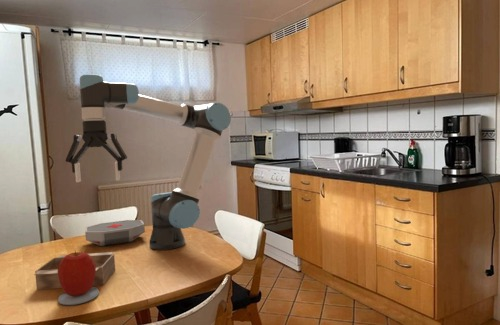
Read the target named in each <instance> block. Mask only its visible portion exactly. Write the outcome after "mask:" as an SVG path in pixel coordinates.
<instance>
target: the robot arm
mask: <svg viewBox="0 0 500 325" xmlns="http://www.w3.org/2000/svg"><path fill="white" fill-rule="evenodd" d="M78 90H79V95H80V104H81V106H80V108H81V119H82V135H80V134H74V135H73V142H72V143H71V145H70V148H69V151H68V154H67V155H66V158H65V162H66V163H70V164H71V170H72V173H73V174H74V175H75V183H81V182H82V177H81V176H82V175H81V174H82V173H81V163H80V162H79V161H80V159H81V158H82V157H83V155H84V154H85V153H86V151H87V150H88V149H89V148H102V147H103V148H104V149H105V150H106V151H107V152H108V153H109V154H110V155H111V156H112V157H113V158H114V160H115V162H114V171H115V172H114V174H115V181H117V182H118V181H120V180H121V171H123V162H124V161H125V160H127V159H128V156H127V154H126V153H125V151H124V149H123V147H122V146H121V144H120V142H119V140H118V139H117V134H116V133H110V134H107V122H106V121H105V120H106V108H110V109H111V108H114V109H118V110H122V111H128V112H132V113H135V114H141V115H145V116H148V117H153V118H158V119H161V120H166V121H171V122H174V123H176V124H177V125H178V126H181V127H185V128H188V129H193V130H194V132H195V136H194V139H193V142H192V144H191V147H190V149H189V153H188V156H187V159H186V162H185V165H184V167H183V170H182V173H181V175H180V176H181V177H180V179H179V182H178V185H177V187H175V188H174V189H172V191H169V192H160V193H155V194H152V195H151V196H150V205H151V206H150V209H151V222H152V229H151V235H150V238H149V243H148V244H149V248H151V249H152V250H158V251H163V250H164V251H167V250H173V249H177V248H180V247H182V246H184V245H185V244H186V240H185V238H186V237H185V234H184V233H183V230H182V229H188V228H191V227H193V226H194V225H195V224H196V223H197V222H198V220H199V218H200V212H201V211H200V207H199V202H200V197H199V194H198V193H199V190H200V188H201V184H202V181H203V179H204V176H205V172H206V169H207V166H208V164H209V160H210V158H211V155H212V152H213V148H214V147H215V146H214V145H215V142H216V141H217V140H219V139H221V135H222V133H223V132H224V131H225V130H226V129H228V127H229V126H230V125H231V121H232V116H231V112H230V111H229V108H228V107H227V106H226V105H225V104H223V103H222V102H210V103H205V104H204V103H203V104H197V105H191V104H190V105H189V104H186V103H182V104H177V103H174V102H170V101H165V100H161V99H159V98H154V97H150V96H147V95H142V94H139V93H140V92H139V88H138V86H137V84H135V83H132V82H131V83H130V82H113V81H111V82H109V81H104V78H103V76H102V75H100V74H96V73H94V74H93V73H91V74H82V75H80V77H79V88H78ZM108 139H109V140H110V141H111V142H112V144H113V146H114V148H115V149H116V151H117V152H118V153H117V152H116V151H115V149H113V148H112V147H111V145H110V144H109V143H108V142H107V140H108ZM82 140H83V142H84V143H83V145H82V146H81V148H80V149H79V150H78V147H79V145H80V142H81V141H82ZM77 150H78V151H77ZM76 152H77V153H76Z"/></svg>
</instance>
